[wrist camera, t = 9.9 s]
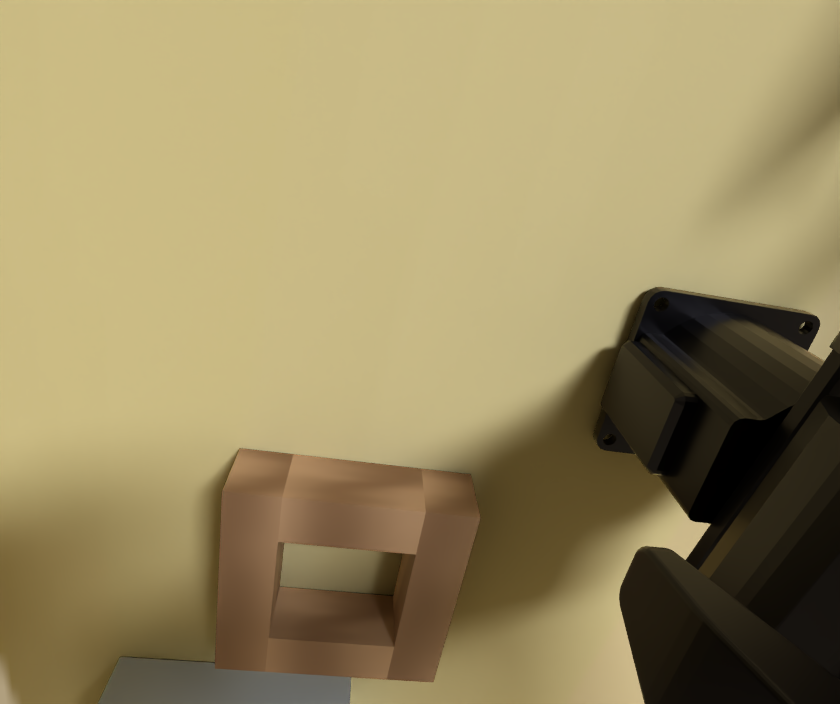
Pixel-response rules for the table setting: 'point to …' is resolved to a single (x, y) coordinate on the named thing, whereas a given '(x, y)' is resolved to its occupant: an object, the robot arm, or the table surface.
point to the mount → (345, 528)
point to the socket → (216, 685)
